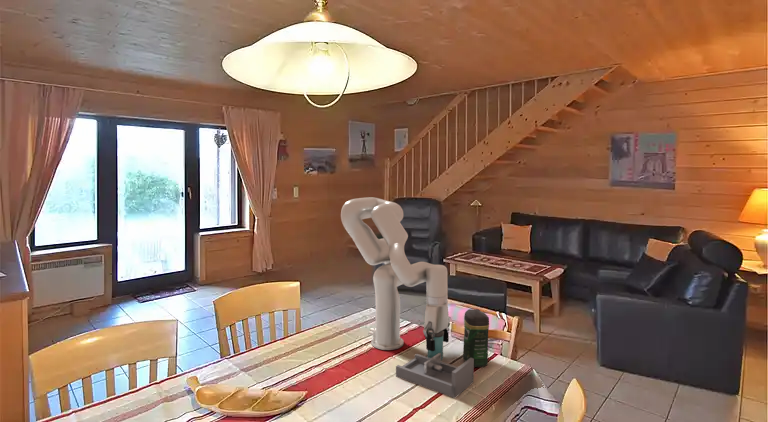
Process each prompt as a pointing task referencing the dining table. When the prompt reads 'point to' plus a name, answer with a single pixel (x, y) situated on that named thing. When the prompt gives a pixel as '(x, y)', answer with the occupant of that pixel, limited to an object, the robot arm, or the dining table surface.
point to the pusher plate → (433, 365)
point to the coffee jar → (476, 337)
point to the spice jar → (437, 345)
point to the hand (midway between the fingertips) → (437, 345)
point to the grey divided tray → (438, 376)
